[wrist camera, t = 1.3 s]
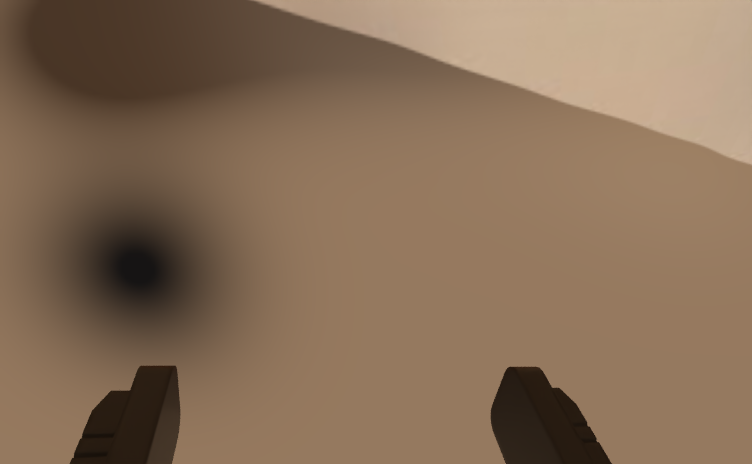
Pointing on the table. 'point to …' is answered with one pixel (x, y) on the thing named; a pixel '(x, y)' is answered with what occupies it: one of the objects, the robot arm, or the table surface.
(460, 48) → the table surface
